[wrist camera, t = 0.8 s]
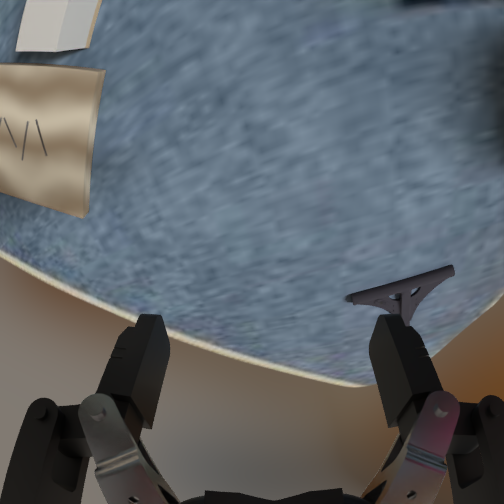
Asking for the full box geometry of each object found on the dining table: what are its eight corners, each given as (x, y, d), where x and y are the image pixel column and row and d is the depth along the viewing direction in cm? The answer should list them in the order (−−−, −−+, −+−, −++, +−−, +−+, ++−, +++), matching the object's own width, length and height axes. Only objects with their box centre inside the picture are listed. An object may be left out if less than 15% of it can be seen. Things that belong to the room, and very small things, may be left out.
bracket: (360, 351, 46) (363, 365, 44) (350, 290, 38) (354, 306, 35) (440, 327, 43) (446, 340, 40) (449, 260, 34) (458, 274, 32)
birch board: (-30, 64, 18) (-39, 66, 17) (105, 70, 22) (98, 71, 21) (-30, 174, 27) (-36, 179, 26) (88, 211, 31) (82, 218, 30)
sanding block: (70, -26, 15) (37, -32, 11) (112, -28, 16) (81, -39, 11) (50, 45, 20) (15, 51, 15) (89, 47, 20) (55, 52, 16)
